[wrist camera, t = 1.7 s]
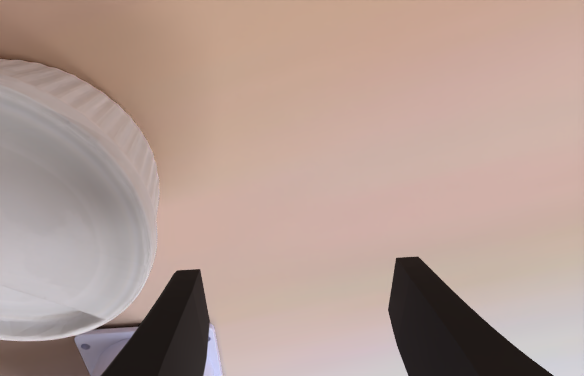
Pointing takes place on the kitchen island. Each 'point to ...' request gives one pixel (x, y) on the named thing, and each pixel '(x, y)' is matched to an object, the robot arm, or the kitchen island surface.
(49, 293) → the ramekin
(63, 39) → the kitchen island surface
